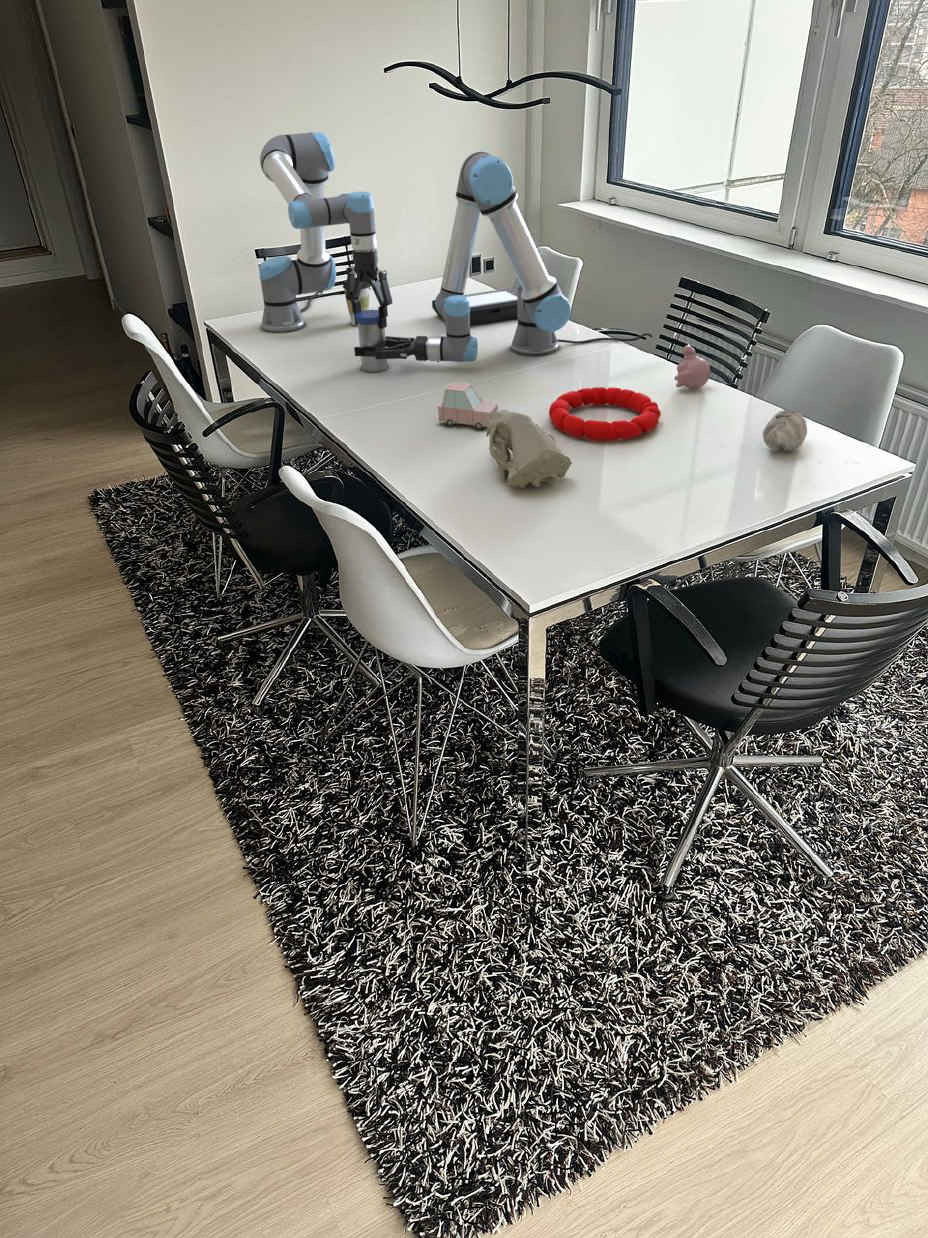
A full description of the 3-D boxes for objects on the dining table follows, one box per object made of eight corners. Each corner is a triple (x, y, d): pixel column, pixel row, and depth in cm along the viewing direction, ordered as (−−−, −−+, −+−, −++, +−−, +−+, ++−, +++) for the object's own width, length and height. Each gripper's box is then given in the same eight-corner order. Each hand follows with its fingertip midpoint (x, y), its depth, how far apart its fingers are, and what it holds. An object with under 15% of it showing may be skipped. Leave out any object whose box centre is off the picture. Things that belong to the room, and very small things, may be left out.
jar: (392, 368, 285) (388, 316, 276) (370, 373, 282) (365, 321, 272) (379, 361, 291) (374, 310, 282) (357, 367, 287) (352, 315, 278)
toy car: (488, 432, 240) (488, 396, 234) (436, 426, 244) (434, 390, 239) (499, 419, 247) (499, 384, 241) (448, 413, 252) (447, 379, 246)
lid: (383, 314, 282) (382, 308, 281) (386, 322, 275) (386, 316, 274) (354, 316, 281) (354, 310, 280) (357, 325, 273) (356, 318, 272)
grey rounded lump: (746, 448, 227) (752, 410, 221) (789, 435, 232) (796, 398, 227) (776, 462, 219) (783, 424, 213) (820, 449, 225) (828, 411, 219)
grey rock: (496, 517, 219) (521, 479, 201) (463, 429, 225) (484, 384, 207) (557, 503, 225) (586, 465, 206) (523, 417, 231) (549, 373, 212)
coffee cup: (372, 326, 323) (368, 283, 314) (345, 327, 323) (340, 284, 315) (374, 318, 331) (371, 276, 322) (348, 319, 331) (344, 277, 323)
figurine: (665, 387, 264) (669, 347, 257) (693, 380, 268) (698, 340, 261) (686, 396, 257) (690, 355, 250) (714, 388, 262) (720, 348, 255)
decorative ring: (589, 435, 224) (684, 402, 234) (527, 398, 247) (617, 369, 256) (589, 461, 229) (683, 427, 238) (529, 422, 251) (617, 393, 260)
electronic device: (453, 311, 314) (431, 298, 329) (454, 329, 317) (432, 315, 332) (533, 299, 324) (509, 286, 339) (533, 316, 327) (509, 303, 342)
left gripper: (328, 248, 268) (336, 324, 281) (386, 255, 259) (392, 333, 271) (343, 243, 273) (351, 318, 286) (401, 250, 264) (406, 326, 276)
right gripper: (422, 371, 274) (351, 369, 277) (435, 349, 291) (367, 348, 294) (421, 347, 269) (348, 345, 273) (434, 326, 286) (365, 325, 290)
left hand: (371, 325), depth 279 cm, fingers closed on lid, 9 cm apart
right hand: (358, 346), depth 283 cm, fingers closed on jar, 8 cm apart
